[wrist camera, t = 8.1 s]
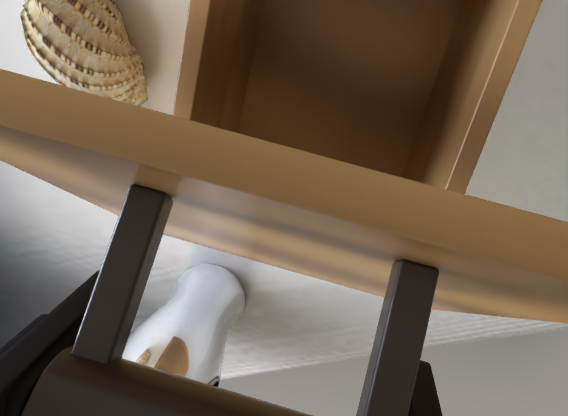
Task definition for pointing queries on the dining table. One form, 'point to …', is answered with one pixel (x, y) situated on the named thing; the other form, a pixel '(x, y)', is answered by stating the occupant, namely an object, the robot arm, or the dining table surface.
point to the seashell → (85, 47)
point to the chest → (357, 77)
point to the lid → (263, 244)
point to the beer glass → (190, 325)
